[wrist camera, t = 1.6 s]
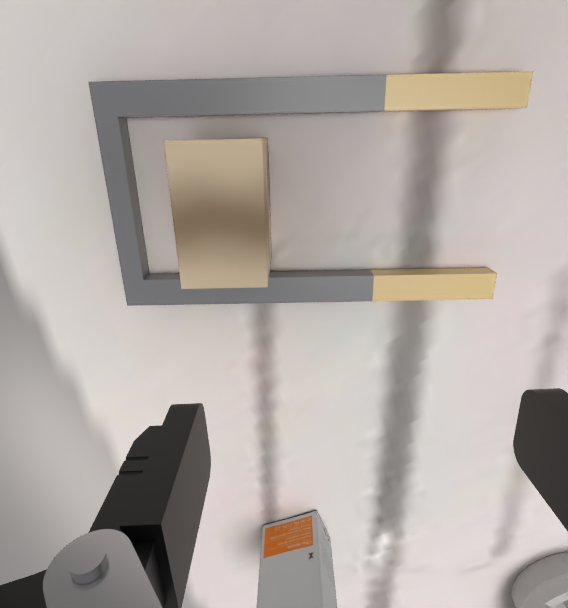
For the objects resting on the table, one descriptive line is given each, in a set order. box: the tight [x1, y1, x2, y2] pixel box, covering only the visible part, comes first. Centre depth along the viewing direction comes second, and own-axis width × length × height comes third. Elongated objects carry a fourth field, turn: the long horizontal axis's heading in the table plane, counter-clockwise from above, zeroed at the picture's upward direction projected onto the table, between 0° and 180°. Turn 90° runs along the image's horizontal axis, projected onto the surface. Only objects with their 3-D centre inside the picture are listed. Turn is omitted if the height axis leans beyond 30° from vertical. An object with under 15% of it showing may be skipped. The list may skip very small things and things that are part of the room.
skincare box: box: [257, 511, 337, 608], centre depth 36 cm, size 6×4×12 cm
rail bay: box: [89, 71, 533, 306], centre depth 29 cm, size 15×28×2 cm, turn 91°
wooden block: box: [164, 138, 272, 289], centre depth 26 cm, size 8×5×8 cm, turn 1°
